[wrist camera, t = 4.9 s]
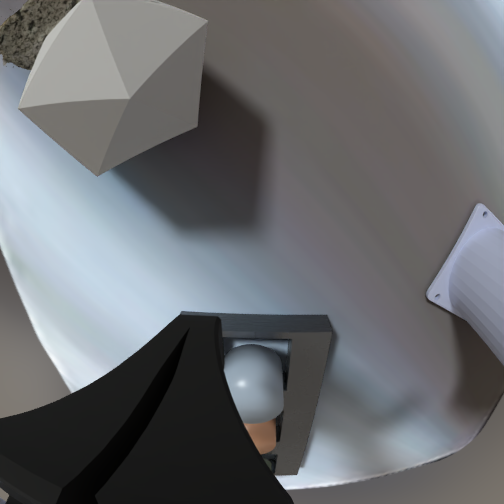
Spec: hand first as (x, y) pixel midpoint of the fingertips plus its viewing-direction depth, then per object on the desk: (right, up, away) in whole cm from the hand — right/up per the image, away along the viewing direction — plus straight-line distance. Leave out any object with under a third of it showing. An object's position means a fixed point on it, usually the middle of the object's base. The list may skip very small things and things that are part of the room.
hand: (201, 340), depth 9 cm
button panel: (+2, -11, +14) cm, 18 cm away
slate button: (+2, -5, +10) cm, 11 cm away
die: (-5, +13, +5) cm, 15 cm away
